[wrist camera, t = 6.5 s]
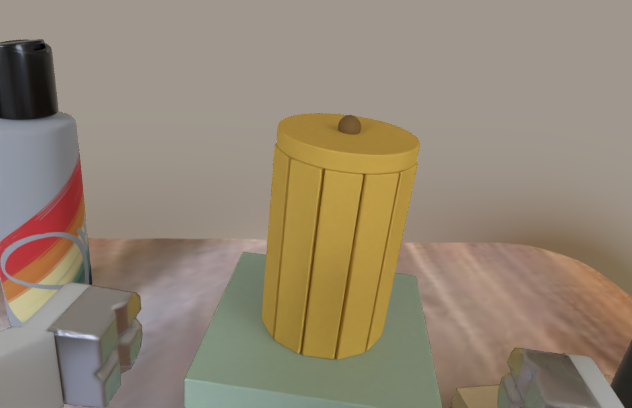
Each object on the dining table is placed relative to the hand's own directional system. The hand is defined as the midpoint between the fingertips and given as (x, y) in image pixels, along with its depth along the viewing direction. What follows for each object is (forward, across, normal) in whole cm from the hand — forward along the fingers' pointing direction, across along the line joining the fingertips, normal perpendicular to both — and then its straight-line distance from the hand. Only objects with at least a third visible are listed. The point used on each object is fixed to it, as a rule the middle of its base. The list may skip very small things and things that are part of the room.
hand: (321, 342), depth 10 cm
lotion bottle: (+20, -20, -18) cm, 33 cm away
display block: (+12, 0, -17) cm, 21 cm away
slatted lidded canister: (+14, 0, -8) cm, 16 cm away
